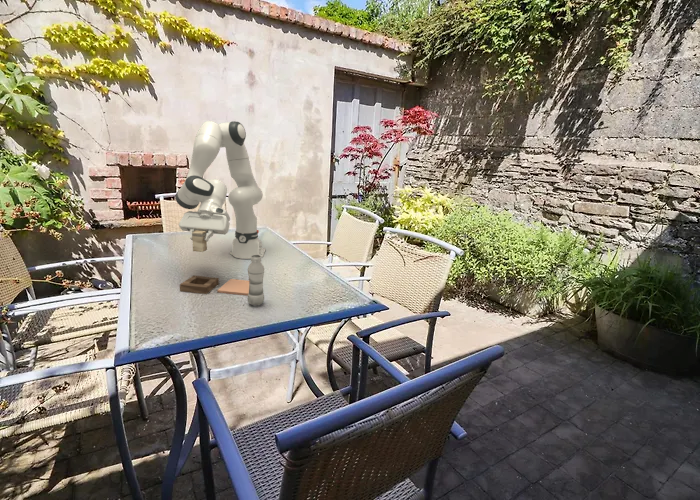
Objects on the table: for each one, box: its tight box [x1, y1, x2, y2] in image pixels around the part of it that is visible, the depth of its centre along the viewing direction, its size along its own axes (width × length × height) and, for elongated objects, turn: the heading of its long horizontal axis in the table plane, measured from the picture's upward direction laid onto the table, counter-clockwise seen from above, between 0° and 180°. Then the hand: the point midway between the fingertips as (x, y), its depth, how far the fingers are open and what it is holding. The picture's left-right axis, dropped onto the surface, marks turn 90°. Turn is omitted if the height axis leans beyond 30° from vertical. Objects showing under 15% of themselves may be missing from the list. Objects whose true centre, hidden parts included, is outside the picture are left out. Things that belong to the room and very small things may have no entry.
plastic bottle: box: [247, 255, 265, 307], centre depth 138 cm, size 6×7×20 cm
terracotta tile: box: [216, 278, 249, 297], centre depth 154 cm, size 14×14×1 cm
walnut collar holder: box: [179, 275, 220, 295], centre depth 151 cm, size 12×12×3 cm
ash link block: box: [191, 230, 208, 253], centre depth 146 cm, size 4×4×8 cm
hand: (198, 240), depth 145 cm, fingers closed on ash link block, 4 cm apart
